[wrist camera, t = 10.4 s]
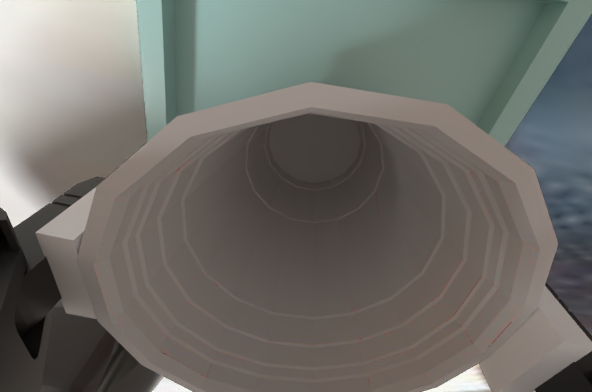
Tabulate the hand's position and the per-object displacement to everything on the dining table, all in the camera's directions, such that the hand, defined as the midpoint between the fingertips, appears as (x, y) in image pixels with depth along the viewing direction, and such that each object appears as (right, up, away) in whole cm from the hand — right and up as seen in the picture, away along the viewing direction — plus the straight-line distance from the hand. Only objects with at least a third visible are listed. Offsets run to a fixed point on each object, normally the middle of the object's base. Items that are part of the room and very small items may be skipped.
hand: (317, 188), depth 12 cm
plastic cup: (0, +3, +5) cm, 6 cm away
